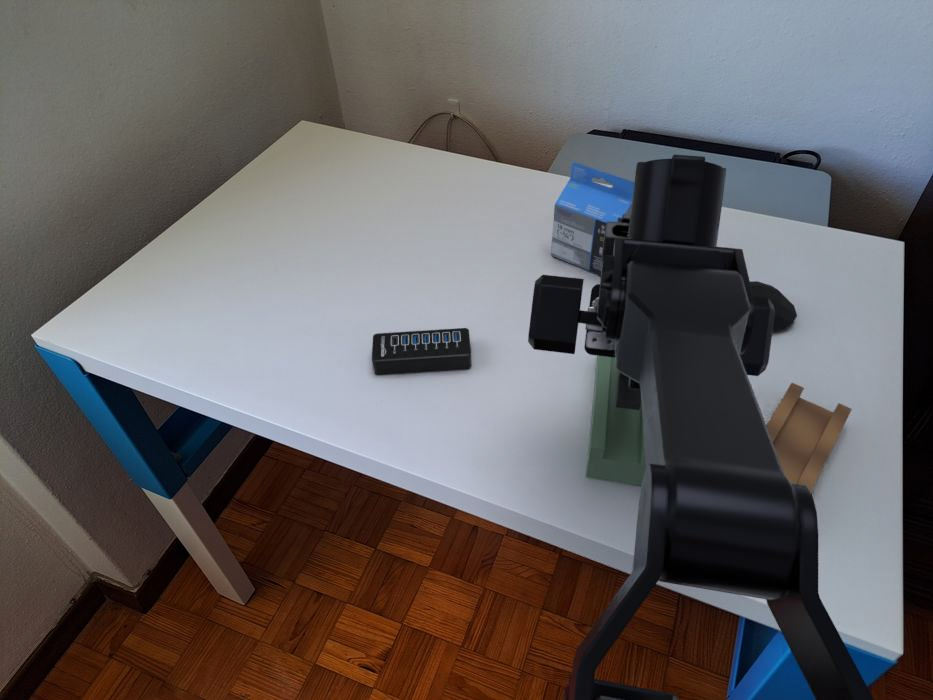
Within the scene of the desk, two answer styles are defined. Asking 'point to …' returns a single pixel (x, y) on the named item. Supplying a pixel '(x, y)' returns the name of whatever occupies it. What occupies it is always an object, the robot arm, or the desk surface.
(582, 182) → the blue product box
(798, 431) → the low rail
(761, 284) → the gaming mouse
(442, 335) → the multiport hub
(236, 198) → the desk surface
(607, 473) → the high rail
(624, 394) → the black hanger
